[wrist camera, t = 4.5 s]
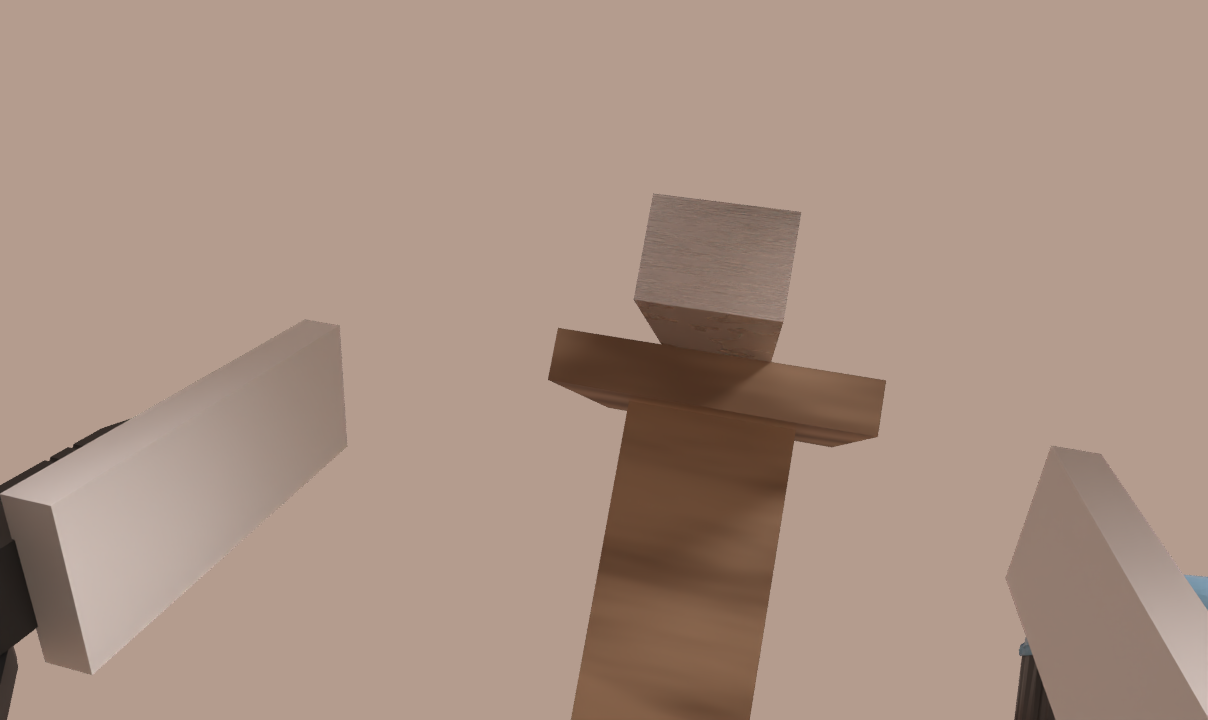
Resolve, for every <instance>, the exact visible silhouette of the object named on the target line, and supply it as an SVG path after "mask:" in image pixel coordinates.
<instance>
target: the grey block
mask: <svg viewBox="0 0 1208 720" xmlns="http://www.w3.org/2000/svg"><path fill="white" fill-rule="evenodd" d="M800 216H801V212H797V211H789V210H781V209H773V208H772V209H771V208H764V207H757V206H748V205H740V204H732V203H724V202H716V201H708V200H700V199H692V198H684V197H676V196H668V195H659V194H653V198H652V203H651V209H650V214H649V220H648V225H647V231H646V236H645V241H644V247H643V252H642V258H641V263H640V269H639V274H638V279H637V285H636V291H635V296H634V301H635V302H636V304H637V306H638V307H639V309H640V310H641V312H642V314H643V315H644V317H645V318H646V320H647V322H648V323H649V325H650V326H651V328H652V330H653V331H654V333H655V335H656V336H657V338H658V339H659V341H660V343H661V344H662V345H667V346H674V347H680V348H686V349H692V350H699V351H705V352H711V353H717V354H724V355H730V356H736V357H742V358H749V359H755V360H761V361H767V362H771V360H772V357H773V354H774V350H775V347H776V344H777V341H778V337H779V334H780V331H781V328H782V324H783V320H784V314H785V308H786V302H787V295H788V289H789V283H790V277H791V271H792V265H793V259H794V253H795V247H796V241H797V235H798V228H799V222H800Z"/></svg>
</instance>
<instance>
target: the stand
mask: <svg viewBox="0 0 1208 720" xmlns="http://www.w3.org/2000/svg"><path fill="white" fill-rule="evenodd" d="M548 380H550V381H552V382H554V383H556V384H558V385H561V386H563V387H565V388H567V389H569V390H571V391H574V392H576V393H578V394H580V395H582V396H584V397H587V398H589V399H591V400H593V401H595V402H597V403H600V404H602V405H604V406H606V407H608V408H614V409H620V410H625V411H627V415H626V421H625V426H624V432H623V438H622V443H621V448H620V454H619V460H618V465H617V470H616V476H615V481H614V486H613V492H612V498H611V503H610V508H609V514H608V520H607V525H606V530H605V536H604V541H603V547H602V552H601V559H600V563H599V570H598V574H597V580H596V585H595V591H594V597H593V602H592V607H591V614H590V618H589V624H588V629H587V635H586V640H585V646H584V651H583V657H582V663H581V668H580V673H579V679H578V684H577V690H576V695H575V701H574V706H573V712H572V718H571V720H750V714H751V708H752V701H753V695H754V688H755V682H756V676H757V670H758V663H759V657H760V651H761V644H762V639H763V632H764V626H765V619H766V613H767V607H768V601H769V595H770V589H771V582H772V576H773V570H774V564H775V557H776V551H777V544H778V538H779V532H780V526H781V520H782V513H783V507H784V501H785V495H786V488H787V482H788V475H789V470H790V463H791V457H792V450H793V444H794V441H800V442H805V443H811V444H816V445H822V446H828V447H835V446H839V445H844V444H848V443H852V442H857V441H862V440H866V439H870V438H875V437H877V436H878V431H879V425H880V417H881V410H882V404H883V398H884V391H885V384H886V381H885V380H880V379H873V378H867V377H861V376H855V375H848V374H842V373H836V372H830V371H824V370H817V369H811V368H804V367H798V366H792V365H786V364H779V363H774V362H767V361H761V360H755V359H749V358H742V357H736V356H730V355H724V354H717V353H711V352H705V351H699V350H692V349H686V348H680V347H674V346H667V345H661V344H655V343H649V342H643V341H636V340H630V339H624V338H617V337H611V336H605V335H599V334H593V333H586V332H580V331H574V330H568V329H561V328H558V331H557V336H556V341H555V347H554V352H553V357H552V362H551V367H550V372H549V377H548Z"/></svg>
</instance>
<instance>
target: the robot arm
mask: <svg viewBox="0 0 1208 720" xmlns="http://www.w3.org/2000/svg"><path fill="white" fill-rule="evenodd" d="M346 447H347V435H346V419H345V403H344V388H343V372H342V356H341V340H340V326H339V325H334V324H328V323H322V322H316V321H310V320H303V321H302V322H300V323H298V324H296V325H295V326H293V327H291V328H289V329H288V330H286V331H284V332H282V333H281V334H279V335H277V336H275V337H274V338H272V339H270V340H268V341H267V342H265V343H263V344H261V345H260V346H258V347H256V348H254V349H253V350H251V351H249V352H247V353H246V354H244V355H242V356H240V357H239V358H237V359H235V360H233V361H232V362H230V363H228V364H227V365H225V366H223V367H221V368H219V369H218V370H216V371H214V372H212V373H210V374H209V375H207V376H205V377H203V378H202V379H200V380H198V381H197V382H195V383H193V384H191V385H189V386H188V387H186V388H184V389H183V390H181V391H179V392H177V393H175V394H174V395H172V396H171V397H168V398H167V399H165V400H163V401H162V402H160V403H158V404H156V405H154V406H153V407H151V408H149V409H148V410H146V411H144V412H142V413H140V414H139V415H137V416H135V417H133V418H132V419H129V420H126V421H123V422H120V423H117V424H113V425H110V426H107V427H104V428H102V429H100V430H98V431H96V432H94V433H93V434H91V435H89V436H88V437H85V438H84V439H82V440H80V441H78V442H77V443H75V444H74V445H73V448H69V447H68V448H66V449H64V450H62V451H61V452H59V453H57V454H55V455H53V456H52V457H51V458H50V461H43V462H41V463H39V464H37V465H36V466H34V467H32V468H30V469H28V470H27V471H25V472H23V473H21V474H19V475H18V476H16V477H14V478H13V479H11V480H9V481H7V482H5V483H3V484H2V485H0V720H7V717H8V712H9V707H10V703H11V698H12V693H13V688H14V684H15V679H16V674H17V670H18V664H17V657H16V653H15V650H14V647H13V646H14V645H15V644H16V643H18V642H19V641H20V640H21V639H23V638H24V637H25V636H27V635H28V634H29V633H30V632H32V631H33V630H34V629H35V628H36V630H37V633H38V637H39V640H40V644H41V648H42V652H43V655H44V659H45V662H47V663H51V664H54V665H58V666H62V667H65V668H69V669H72V670H76V671H80V672H83V673H87V674H90V675H93V674H94V673H95V672H96V671H97V670H98V669H99V668H100V667H102V666H103V665H104V664H105V663H106V662H107V661H108V660H109V659H110V658H112V657H113V656H114V655H115V654H116V653H117V652H118V651H119V650H121V649H122V648H123V647H124V646H125V645H126V644H127V643H128V642H130V641H131V640H132V639H133V638H134V637H135V636H136V635H137V634H138V633H140V632H141V631H142V630H143V629H144V628H145V627H146V626H147V625H148V624H150V623H151V622H152V621H153V620H154V619H155V618H156V617H157V616H159V615H160V614H161V613H162V612H163V611H164V610H165V609H166V608H168V607H169V606H170V605H171V604H172V603H173V602H174V601H175V600H176V599H178V598H179V597H180V596H181V595H182V594H183V593H184V592H185V591H186V590H188V589H189V588H190V587H191V586H192V585H193V584H194V583H195V582H197V581H198V580H199V579H200V578H201V577H202V576H203V575H204V574H205V573H207V572H208V571H209V570H210V569H211V568H212V567H213V566H214V565H215V564H217V563H218V562H219V561H220V560H221V559H222V558H223V557H224V556H226V555H227V554H228V553H229V552H230V551H231V550H232V549H233V548H234V547H236V546H237V545H238V544H239V543H240V542H241V541H242V540H243V539H245V538H246V537H247V536H248V535H249V534H250V533H251V532H252V531H253V530H255V529H256V528H257V527H258V526H259V525H260V524H261V523H262V522H263V521H265V520H266V519H267V518H268V517H269V516H270V515H271V514H272V513H274V512H275V511H276V510H277V509H278V508H279V507H280V506H281V505H282V504H284V503H285V502H286V501H287V500H288V499H289V498H290V497H291V496H293V495H294V494H295V493H296V492H297V491H298V490H299V489H300V488H301V487H303V486H304V485H305V484H306V483H307V482H308V481H309V480H310V479H311V478H313V477H314V476H315V475H316V474H317V473H318V472H319V471H320V470H321V469H323V468H324V467H325V466H326V465H327V464H328V463H329V462H330V461H332V459H334V458H335V457H336V456H337V455H338V454H339V453H340V452H342V451H343V450H344V449H345V448H346ZM1006 581H1007V584H1008V586H1009V589H1010V592H1011V595H1012V598H1013V601H1014V604H1015V606H1016V609H1017V612H1018V615H1019V618H1020V621H1021V623H1022V626H1023V629H1024V632H1025V635H1026V639H1025V642H1024V643H1023V644H1021V646H1020V649H1019V655H1020V656H1022V662H1021V670H1020V679H1019V686H1018V695H1017V703H1016V711H1015V719H1014V720H1208V577H1203V576H1191V575H1183V574H1182V572H1181V571H1180V569H1179V568H1178V566H1177V565H1176V563H1175V562H1174V560H1173V559H1172V557H1171V556H1170V555H1169V553H1168V552H1167V550H1166V549H1165V547H1164V546H1163V544H1162V543H1161V541H1160V540H1159V538H1158V537H1157V536H1156V534H1155V532H1154V531H1153V530H1152V528H1151V527H1150V525H1149V524H1148V522H1147V521H1146V519H1145V518H1144V516H1143V515H1142V514H1141V512H1140V510H1139V509H1138V508H1137V506H1136V505H1135V503H1134V502H1133V500H1132V499H1131V497H1130V496H1129V494H1128V493H1127V491H1126V490H1125V489H1124V487H1123V486H1122V484H1121V483H1120V482H1119V480H1118V478H1117V477H1116V475H1115V474H1114V473H1113V471H1112V469H1111V468H1110V467H1109V465H1108V464H1107V462H1106V461H1105V459H1104V458H1103V456H1102V455H1101V454H1098V453H1091V452H1086V451H1080V450H1074V449H1068V448H1062V447H1056V446H1051V448H1050V451H1049V453H1048V457H1047V459H1046V462H1045V465H1044V468H1043V471H1042V474H1041V477H1040V480H1039V482H1038V485H1037V488H1036V491H1035V494H1034V497H1033V500H1032V503H1031V506H1030V509H1029V511H1028V515H1027V517H1026V520H1025V523H1024V526H1023V529H1022V532H1021V535H1020V538H1019V540H1018V543H1017V546H1016V549H1015V552H1014V555H1013V558H1012V561H1011V564H1010V566H1009V569H1008V572H1007V575H1006Z"/></svg>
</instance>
